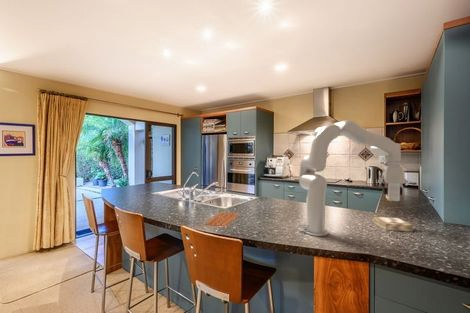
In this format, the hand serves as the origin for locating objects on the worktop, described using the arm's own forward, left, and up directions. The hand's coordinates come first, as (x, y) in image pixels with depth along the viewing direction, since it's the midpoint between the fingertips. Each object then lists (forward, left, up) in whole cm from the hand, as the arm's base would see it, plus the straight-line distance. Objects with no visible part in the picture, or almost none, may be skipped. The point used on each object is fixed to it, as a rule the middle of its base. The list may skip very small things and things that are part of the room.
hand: (392, 194), depth 130 cm
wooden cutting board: (-102, 0, -20) cm, 104 cm away
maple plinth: (0, 0, -19) cm, 19 cm away
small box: (0, 0, -3) cm, 3 cm away
